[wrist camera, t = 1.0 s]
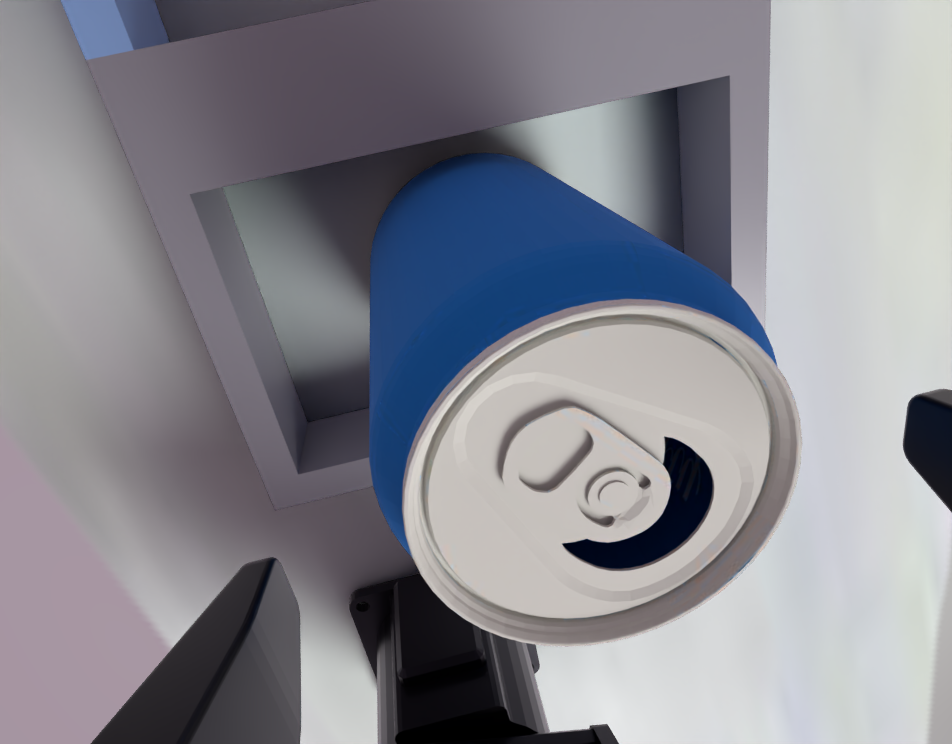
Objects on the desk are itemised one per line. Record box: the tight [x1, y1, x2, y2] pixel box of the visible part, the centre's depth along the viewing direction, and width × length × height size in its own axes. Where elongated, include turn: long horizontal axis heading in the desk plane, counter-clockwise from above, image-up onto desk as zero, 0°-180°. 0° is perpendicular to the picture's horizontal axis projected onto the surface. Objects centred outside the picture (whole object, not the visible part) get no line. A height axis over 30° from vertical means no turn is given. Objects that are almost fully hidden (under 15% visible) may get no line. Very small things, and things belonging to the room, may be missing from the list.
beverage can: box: [369, 153, 802, 647], centre depth 14 cm, size 6×6×12 cm
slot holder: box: [61, 0, 771, 510], centre depth 15 cm, size 21×15×4 cm
